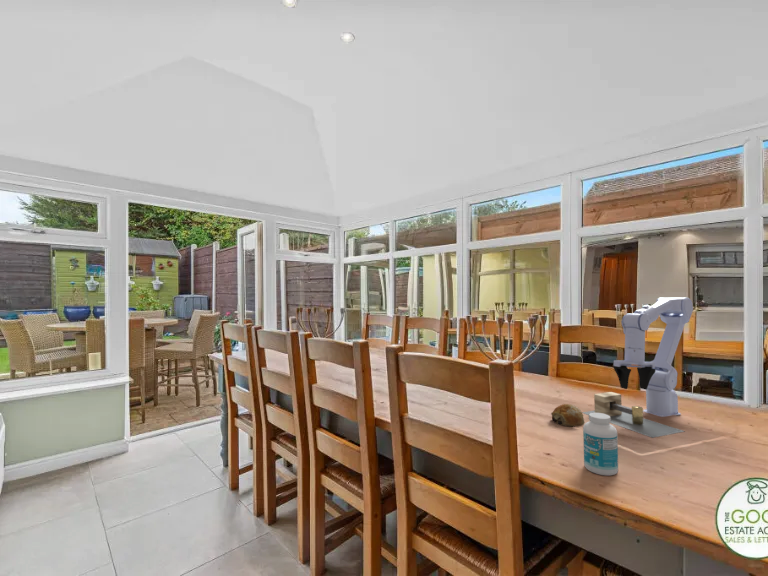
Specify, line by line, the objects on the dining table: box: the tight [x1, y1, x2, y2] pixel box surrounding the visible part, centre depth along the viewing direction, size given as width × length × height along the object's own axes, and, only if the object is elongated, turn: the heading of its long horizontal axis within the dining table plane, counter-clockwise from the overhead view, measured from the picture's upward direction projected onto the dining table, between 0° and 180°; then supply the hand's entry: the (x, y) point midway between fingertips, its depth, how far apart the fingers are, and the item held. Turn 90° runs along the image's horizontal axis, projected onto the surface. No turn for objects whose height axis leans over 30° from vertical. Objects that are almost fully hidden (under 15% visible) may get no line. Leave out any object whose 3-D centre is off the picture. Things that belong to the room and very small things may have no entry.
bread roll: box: [550, 403, 586, 428], centre depth 129 cm, size 10×10×8 cm
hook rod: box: [610, 402, 644, 424], centre depth 131 cm, size 3×16×5 cm, turn 19°
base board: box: [581, 409, 686, 439], centre depth 127 cm, size 14×26×1 cm, turn 19°
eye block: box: [593, 391, 623, 416], centre depth 135 cm, size 8×4×7 cm, turn 109°
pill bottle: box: [582, 413, 619, 476], centre depth 95 cm, size 8×7×14 cm
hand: (633, 388), depth 129 cm, fingers open, 7 cm apart
